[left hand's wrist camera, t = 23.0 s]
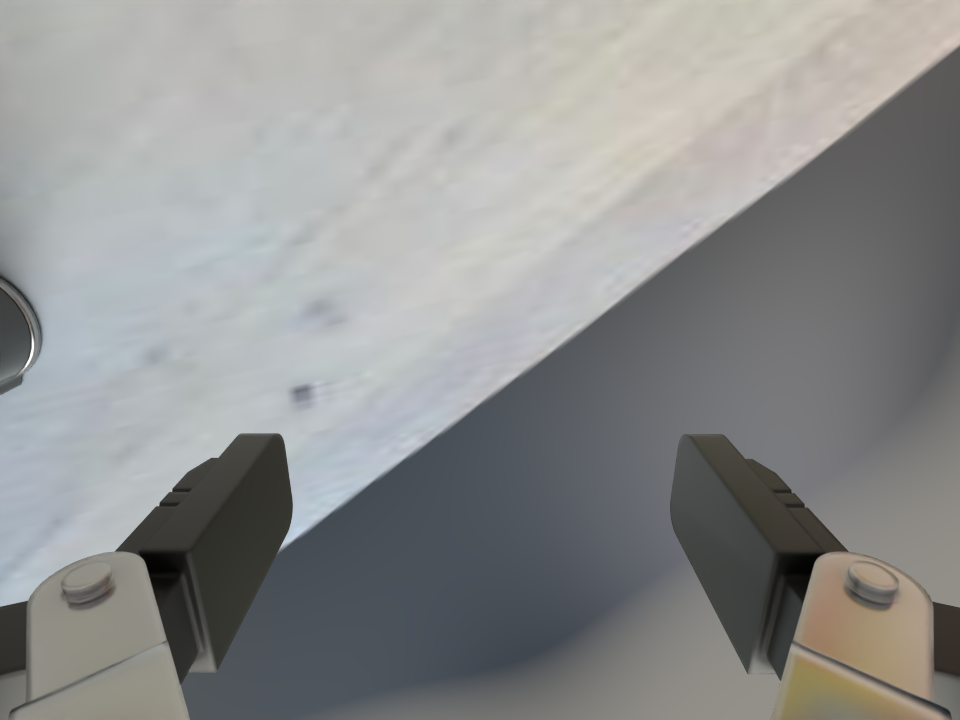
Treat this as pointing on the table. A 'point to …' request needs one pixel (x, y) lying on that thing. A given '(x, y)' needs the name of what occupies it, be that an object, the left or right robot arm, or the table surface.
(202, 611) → the left robot arm
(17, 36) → the table surface
